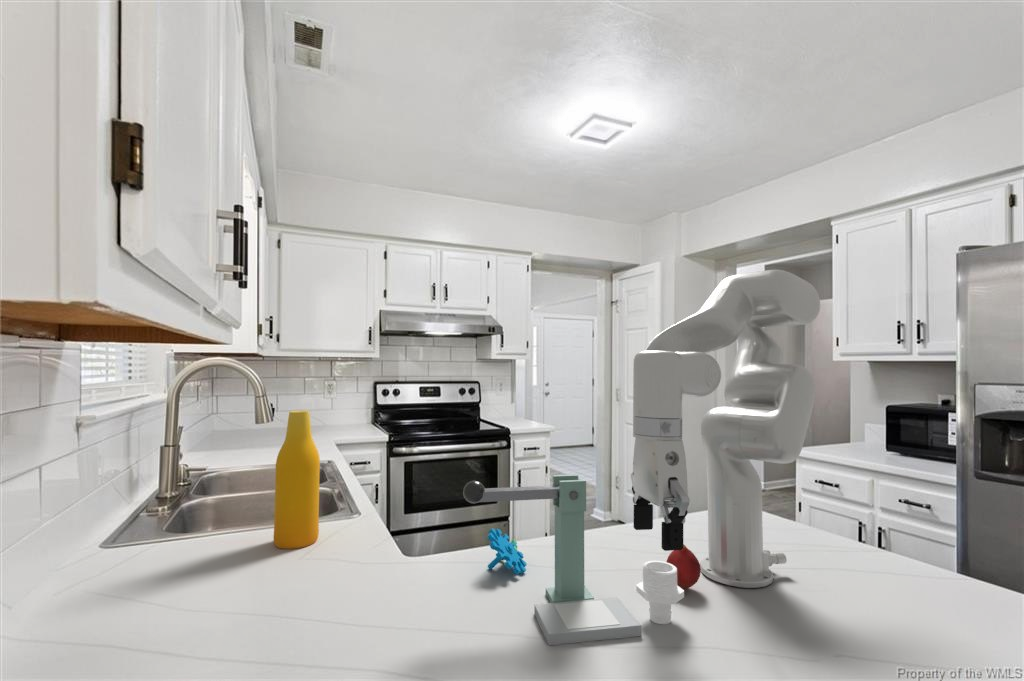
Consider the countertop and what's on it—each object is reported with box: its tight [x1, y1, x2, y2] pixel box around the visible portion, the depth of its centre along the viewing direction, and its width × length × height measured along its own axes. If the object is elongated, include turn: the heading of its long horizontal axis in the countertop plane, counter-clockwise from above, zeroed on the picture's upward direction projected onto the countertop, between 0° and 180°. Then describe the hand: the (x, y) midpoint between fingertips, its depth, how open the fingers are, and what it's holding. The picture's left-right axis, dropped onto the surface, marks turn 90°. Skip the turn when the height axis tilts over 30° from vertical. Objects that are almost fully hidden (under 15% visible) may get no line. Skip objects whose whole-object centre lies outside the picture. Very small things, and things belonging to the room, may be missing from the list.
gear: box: [486, 528, 528, 575], centre depth 98 cm, size 11×6×10 cm
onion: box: [665, 543, 702, 591], centre depth 89 cm, size 6×6×8 cm
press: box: [533, 474, 642, 646], centre depth 80 cm, size 14×16×20 cm
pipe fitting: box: [635, 560, 685, 625], centre depth 78 cm, size 6×7×8 cm
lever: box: [462, 480, 559, 504], centre depth 84 cm, size 20×4×4 cm, turn 101°
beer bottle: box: [273, 410, 321, 550], centre depth 112 cm, size 9×9×29 cm
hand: (656, 538), depth 78 cm, fingers open, 9 cm apart
